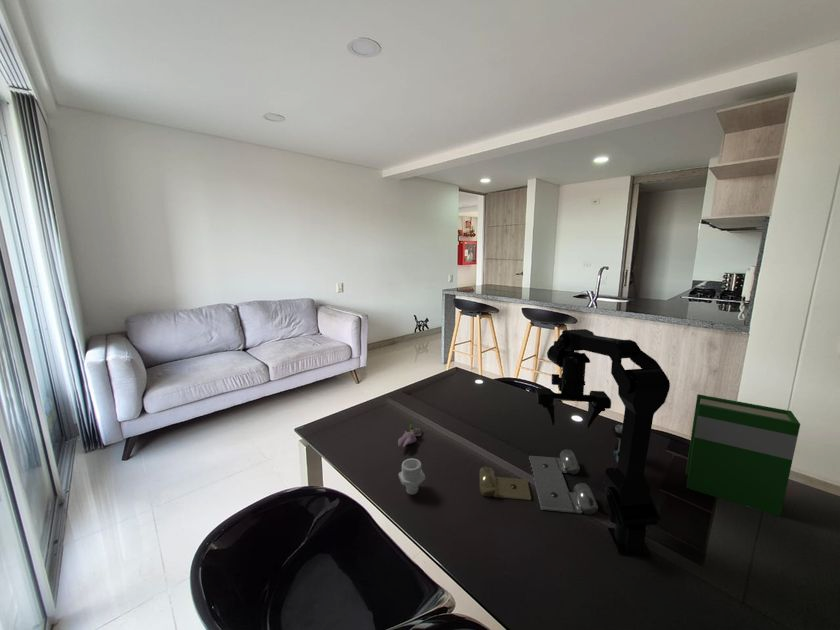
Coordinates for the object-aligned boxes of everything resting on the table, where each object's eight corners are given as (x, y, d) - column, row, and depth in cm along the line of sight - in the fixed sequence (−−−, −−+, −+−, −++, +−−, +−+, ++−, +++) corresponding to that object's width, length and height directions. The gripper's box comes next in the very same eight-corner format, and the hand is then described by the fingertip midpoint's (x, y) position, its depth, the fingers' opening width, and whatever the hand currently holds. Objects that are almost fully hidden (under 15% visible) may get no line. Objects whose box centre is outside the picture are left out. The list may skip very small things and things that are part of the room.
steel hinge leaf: (597, 515, 83) (598, 500, 82) (541, 509, 85) (541, 495, 85) (573, 461, 104) (574, 449, 103) (528, 458, 106) (529, 446, 105)
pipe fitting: (418, 479, 97) (417, 453, 96) (428, 495, 91) (427, 468, 89) (397, 485, 95) (396, 459, 94) (405, 502, 89) (404, 475, 87)
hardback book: (686, 488, 92) (699, 404, 87) (685, 473, 98) (697, 394, 93) (780, 516, 82) (800, 424, 77) (772, 498, 87) (791, 411, 83)
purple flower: (409, 433, 124) (391, 449, 110) (410, 416, 124) (392, 431, 110) (425, 436, 122) (410, 453, 108) (426, 419, 122) (410, 434, 108)
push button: (627, 467, 100) (631, 436, 98) (607, 461, 104) (610, 430, 102) (630, 456, 106) (633, 426, 104) (610, 450, 109) (613, 421, 107)
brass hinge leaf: (530, 500, 89) (531, 487, 88) (479, 496, 91) (479, 482, 90) (527, 482, 95) (527, 469, 95) (479, 478, 97) (479, 465, 97)
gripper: (600, 365, 101) (596, 414, 104) (534, 363, 104) (532, 410, 107) (614, 379, 90) (609, 434, 93) (539, 376, 94) (537, 429, 97)
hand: (570, 425), depth 98 cm, fingers open, 9 cm apart
